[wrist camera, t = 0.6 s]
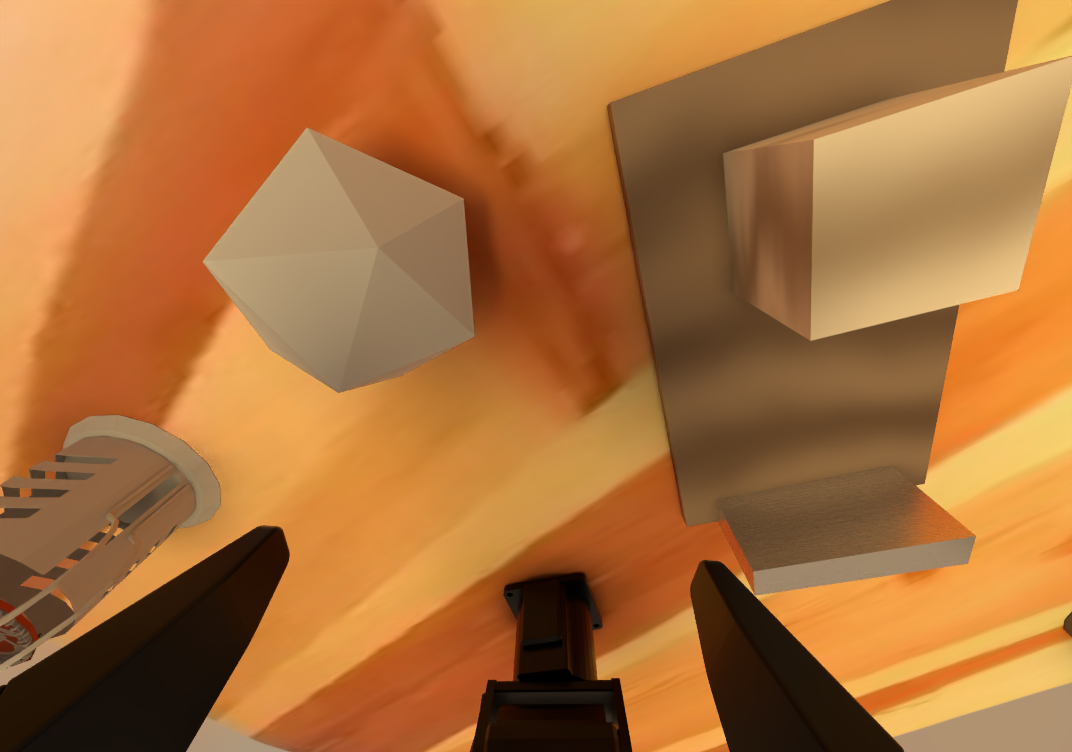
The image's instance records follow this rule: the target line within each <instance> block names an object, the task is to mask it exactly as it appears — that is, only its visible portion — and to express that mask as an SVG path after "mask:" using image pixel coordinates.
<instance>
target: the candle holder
mask: <svg viewBox="0 0 1072 752" xmlns="http://www.w3.org/2000/svg"><path fill="white" fill-rule="evenodd" d="M1064 630H1065V631H1066V632H1067V633H1068V634H1069V635H1070V636H1071V637H1072V613H1071V614H1070V615H1069V617H1068V618H1067V619H1066V620H1065V624H1064Z"/></svg>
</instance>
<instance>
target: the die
mask: <svg viewBox="0 0 1072 752" xmlns="http://www.w3.org/2000/svg"><path fill="white" fill-rule="evenodd" d="M203 263H204V264H205V266H206V267H207V268H208V269H209V271H210V272H211V273H212V275H213V276H214V277H215V279H216V280H217V281H218V282H219V284H220V285H221V286H222V288H223V289H224V290H225V292H226V293H227V294H228V295H229V297H230V298H231V299H232V301H233V302H234V303H235V305H236V306H237V307H238V308H239V310H240V311H241V312H242V314H243V315H244V316H245V318H246V319H247V320H248V321H249V323H250V324H251V325H252V327H253V328H254V329H255V331H256V332H257V333H258V334H259V336H260V337H261V338H262V340H263V341H264V342H265V343H266V345H267V346H268V347H269V349H270V350H272V351H273V352H275V353H276V354H278V355H280V356H281V357H283V358H284V359H286V360H287V361H289V362H291V363H292V364H294V365H295V366H297V367H299V368H300V369H302V370H303V371H305V372H306V373H308V374H310V375H311V376H313V377H314V378H316V379H317V380H319V381H321V382H322V383H324V384H325V385H327V386H329V387H330V388H332V389H333V390H335V391H336V392H338V393H340V392H344V391H347V390H351V389H355V388H359V387H362V386H366V385H370V384H373V383H377V382H381V381H384V380H388V379H392V378H396V377H399V376H402V375H404V374H406V373H408V372H410V371H411V370H413V369H415V368H417V367H419V366H421V365H423V364H424V363H426V362H428V361H430V360H432V359H434V358H436V357H437V356H439V355H441V354H443V353H445V352H447V351H449V350H450V349H452V348H454V347H456V346H458V345H460V344H462V343H464V342H465V341H467V340H469V339H471V338H473V337H475V333H474V321H473V308H472V296H471V283H470V271H469V258H468V246H467V233H466V220H465V208H464V198H462V197H459V196H457V195H455V194H453V193H451V192H448V191H446V190H444V189H442V188H440V187H437V186H435V185H433V184H431V183H429V182H426V181H424V180H422V179H420V178H417V177H415V176H413V175H411V174H409V173H406V172H404V171H402V170H400V169H398V168H395V167H393V166H391V165H389V164H387V163H384V162H382V161H380V160H378V159H376V158H373V157H371V156H369V155H367V154H365V153H362V152H360V151H358V150H356V149H354V148H351V147H349V146H347V145H345V144H343V143H340V142H338V141H336V140H334V139H331V138H329V137H327V136H325V135H323V134H320V133H318V132H316V131H314V130H312V129H309V128H306V129H305V131H304V132H303V133H302V135H301V136H300V137H299V138H298V140H297V141H296V142H295V144H294V145H293V146H292V147H291V149H290V150H289V151H288V153H287V154H286V155H285V156H284V158H283V159H282V160H281V162H280V163H279V164H278V165H277V167H276V168H275V169H274V171H273V172H272V173H271V174H270V176H269V177H268V178H267V179H266V181H265V182H264V183H263V185H262V186H261V187H260V188H259V190H258V191H257V192H256V194H255V195H254V196H253V197H252V199H251V200H250V201H249V203H248V204H247V205H246V206H245V208H244V209H243V210H242V212H241V213H240V214H239V215H238V217H237V218H236V219H235V221H234V222H233V223H232V224H231V226H230V227H229V228H228V230H227V231H226V232H225V233H224V235H223V236H222V237H221V239H220V240H219V241H218V242H217V244H216V245H215V246H214V248H213V249H212V250H211V251H210V253H209V254H208V255H207V257H206V258H205V259H204V260H203Z"/></svg>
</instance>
